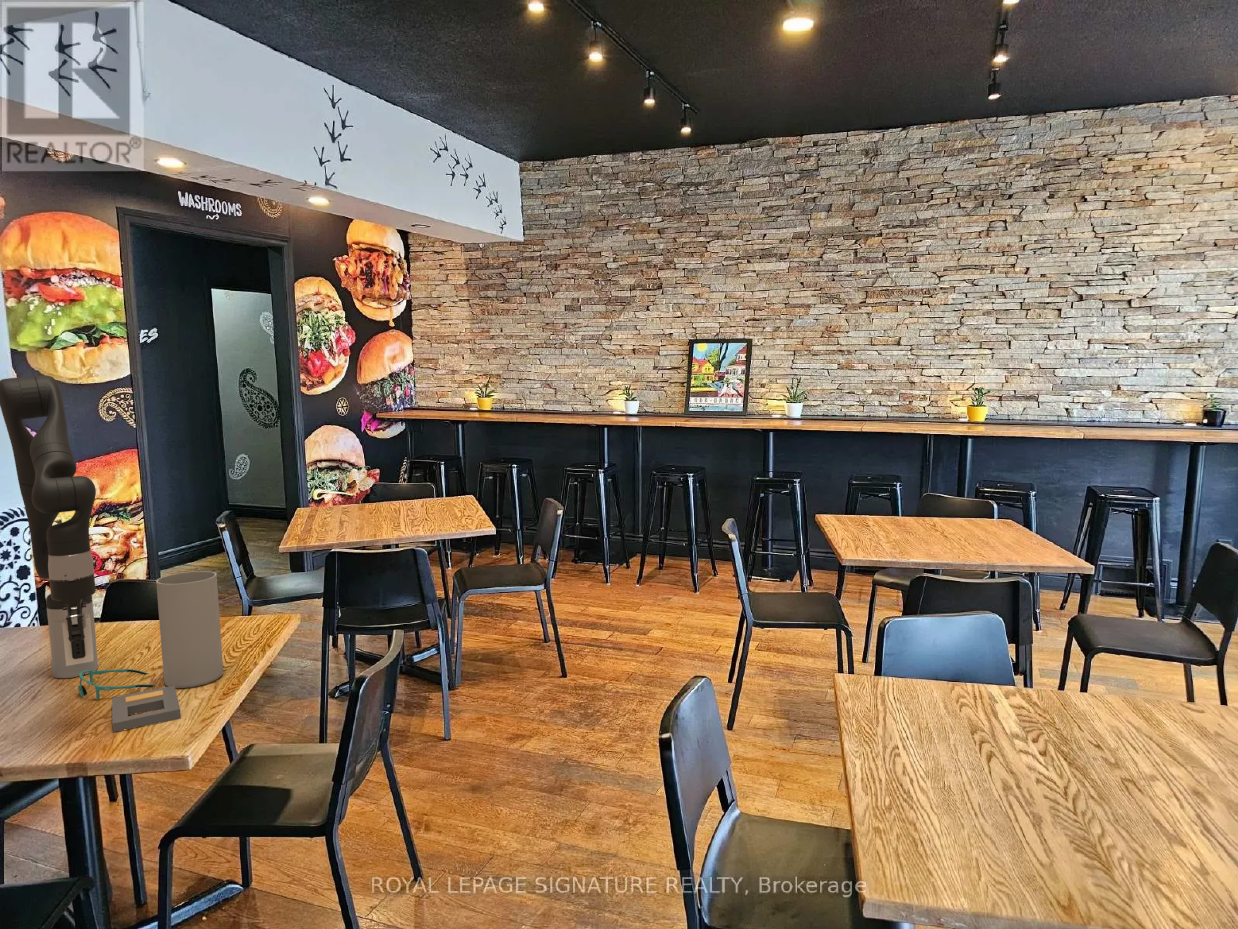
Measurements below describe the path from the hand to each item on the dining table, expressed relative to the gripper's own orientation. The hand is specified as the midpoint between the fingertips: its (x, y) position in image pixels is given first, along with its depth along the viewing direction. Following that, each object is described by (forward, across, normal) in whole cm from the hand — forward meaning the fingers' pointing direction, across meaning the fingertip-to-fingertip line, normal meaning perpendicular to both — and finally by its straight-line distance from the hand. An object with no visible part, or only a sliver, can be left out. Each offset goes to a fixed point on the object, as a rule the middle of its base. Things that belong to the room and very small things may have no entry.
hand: (79, 654), depth 160 cm
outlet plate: (+15, +1, +11) cm, 18 cm away
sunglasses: (+16, -20, +6) cm, 26 cm away
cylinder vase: (+16, -14, +21) cm, 30 cm away
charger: (+1, 0, 0) cm, 1 cm away
